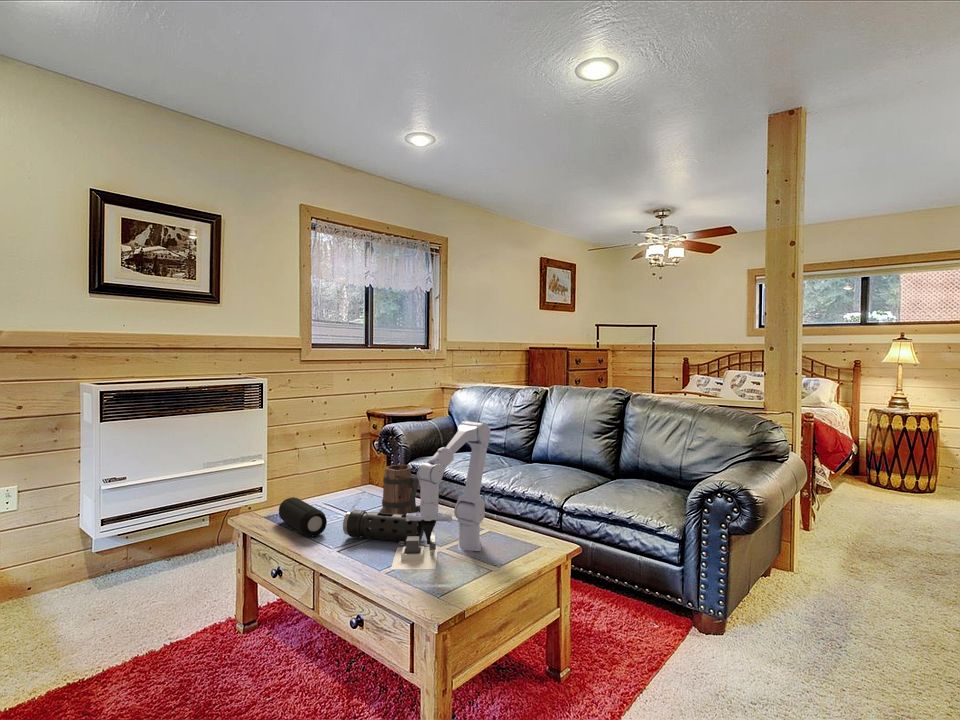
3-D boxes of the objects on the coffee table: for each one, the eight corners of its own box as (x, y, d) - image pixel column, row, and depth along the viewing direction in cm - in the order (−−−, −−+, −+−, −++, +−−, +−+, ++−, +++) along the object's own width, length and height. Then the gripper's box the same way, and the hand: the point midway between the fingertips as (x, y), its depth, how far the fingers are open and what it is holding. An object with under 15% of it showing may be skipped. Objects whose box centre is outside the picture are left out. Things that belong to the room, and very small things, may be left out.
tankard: (368, 514, 218) (368, 467, 217) (400, 505, 230) (400, 460, 230) (405, 528, 202) (405, 477, 202) (437, 517, 215) (437, 469, 214)
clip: (429, 569, 163) (429, 544, 163) (429, 554, 175) (429, 531, 174) (435, 568, 163) (435, 544, 163) (435, 554, 175) (435, 530, 175)
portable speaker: (329, 535, 195) (328, 508, 194) (303, 541, 188) (303, 514, 188) (300, 518, 214) (300, 493, 213) (276, 523, 207) (276, 498, 207)
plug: (399, 554, 175) (399, 536, 175) (419, 553, 176) (419, 536, 176) (398, 559, 171) (398, 540, 171) (418, 558, 172) (418, 540, 172)
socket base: (397, 548, 181) (397, 541, 181) (437, 548, 182) (437, 541, 182) (390, 571, 163) (390, 563, 163) (435, 570, 164) (435, 562, 164)
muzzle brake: (416, 549, 182) (416, 519, 181) (341, 542, 187) (341, 514, 187) (424, 539, 191) (424, 511, 191) (353, 533, 197) (353, 506, 196)
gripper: (404, 504, 162) (404, 547, 163) (451, 505, 162) (450, 548, 162) (408, 497, 170) (407, 539, 170) (452, 498, 169) (452, 540, 169)
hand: (428, 543), depth 167 cm, fingers closed, pressing on clip
